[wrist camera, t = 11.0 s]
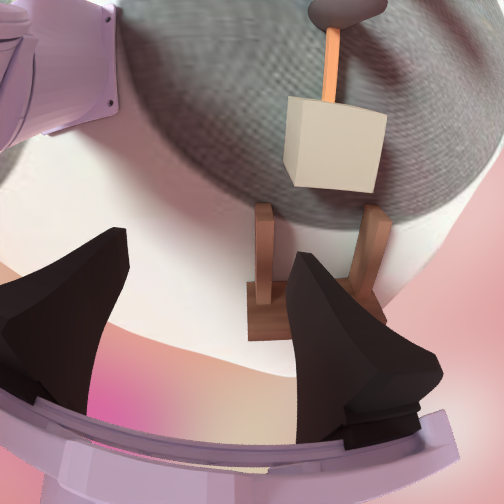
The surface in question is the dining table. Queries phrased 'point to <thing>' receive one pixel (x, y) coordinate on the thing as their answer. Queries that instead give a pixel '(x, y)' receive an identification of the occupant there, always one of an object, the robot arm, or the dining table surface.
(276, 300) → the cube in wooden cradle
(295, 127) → the multicoloured piece
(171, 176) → the dining table surface
